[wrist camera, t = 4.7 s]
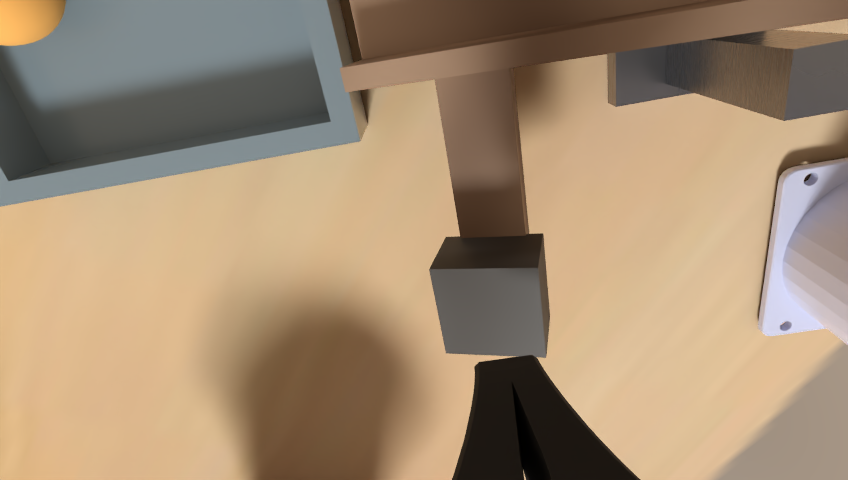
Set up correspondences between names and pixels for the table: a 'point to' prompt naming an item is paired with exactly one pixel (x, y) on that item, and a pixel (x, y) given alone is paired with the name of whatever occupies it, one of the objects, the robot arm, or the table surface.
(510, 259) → the chute
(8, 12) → the ball
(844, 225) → the robot arm
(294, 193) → the table surface
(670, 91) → the chute stand
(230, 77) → the tray
